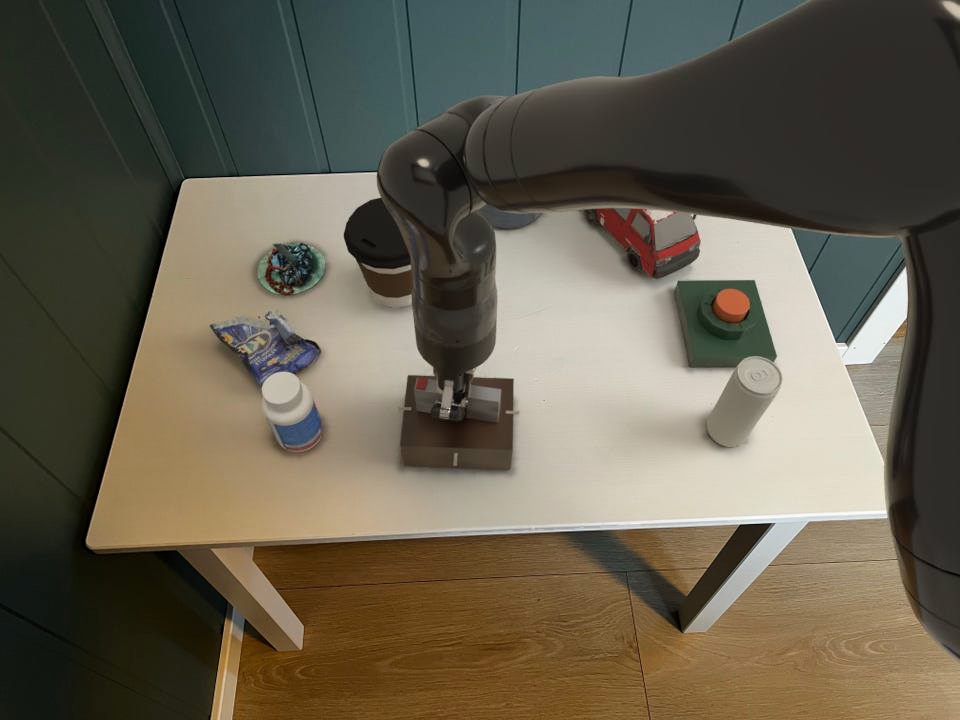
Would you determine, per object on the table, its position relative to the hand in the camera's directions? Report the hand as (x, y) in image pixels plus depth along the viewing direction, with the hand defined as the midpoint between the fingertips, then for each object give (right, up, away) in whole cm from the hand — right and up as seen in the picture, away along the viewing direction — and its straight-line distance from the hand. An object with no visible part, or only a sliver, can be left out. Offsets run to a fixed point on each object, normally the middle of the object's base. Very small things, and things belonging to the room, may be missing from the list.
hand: (458, 408), depth 79 cm
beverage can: (+31, -3, +5) cm, 31 cm away
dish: (-23, +17, +18) cm, 34 cm away
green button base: (+33, +9, +13) cm, 37 cm away
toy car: (+24, +22, +22) cm, 39 cm away
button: (+33, +11, +10) cm, 36 cm away
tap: (0, 0, 0) cm, 0 cm away
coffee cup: (-8, +14, +16) cm, 23 cm away
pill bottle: (-18, -3, +5) cm, 19 cm away
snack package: (-23, +6, +11) cm, 26 cm away
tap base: (0, -3, +5) cm, 6 cm away
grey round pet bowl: (+6, +28, +25) cm, 38 cm away
